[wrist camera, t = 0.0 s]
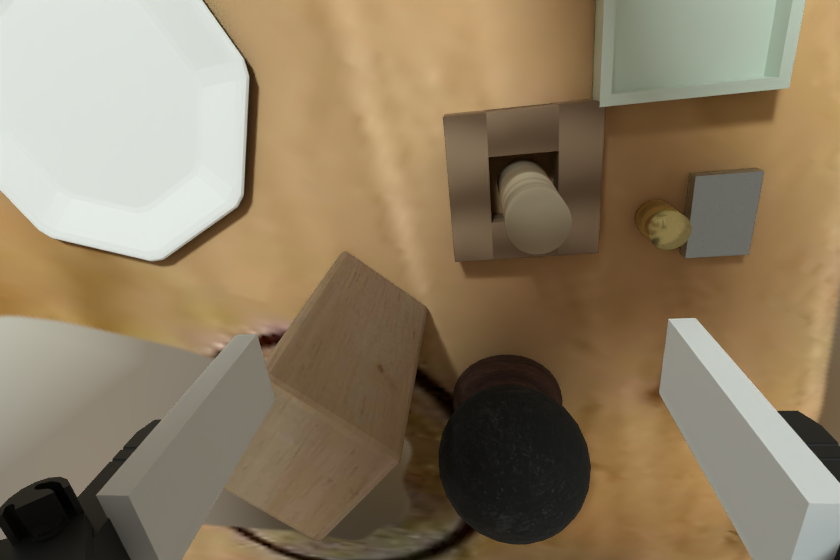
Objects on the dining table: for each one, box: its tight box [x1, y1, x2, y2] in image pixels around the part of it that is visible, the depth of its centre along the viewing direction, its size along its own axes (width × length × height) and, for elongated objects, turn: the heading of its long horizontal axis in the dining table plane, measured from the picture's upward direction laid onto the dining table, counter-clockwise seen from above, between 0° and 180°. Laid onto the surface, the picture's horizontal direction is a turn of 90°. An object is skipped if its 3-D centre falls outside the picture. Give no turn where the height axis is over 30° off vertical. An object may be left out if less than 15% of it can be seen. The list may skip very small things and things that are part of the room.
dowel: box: [497, 157, 572, 254], centre depth 35 cm, size 4×4×12 cm
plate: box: [0, 0, 250, 261], centre depth 41 cm, size 28×28×2 cm
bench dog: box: [635, 200, 692, 250], centre depth 39 cm, size 3×3×4 cm
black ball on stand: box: [439, 355, 591, 544], centre depth 43 cm, size 13×13×15 cm
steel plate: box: [680, 168, 764, 258], centre depth 39 cm, size 7×5×1 cm
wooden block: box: [223, 252, 428, 541], centre depth 38 cm, size 10×10×20 cm
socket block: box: [443, 99, 605, 262], centre depth 39 cm, size 12×12×2 cm
